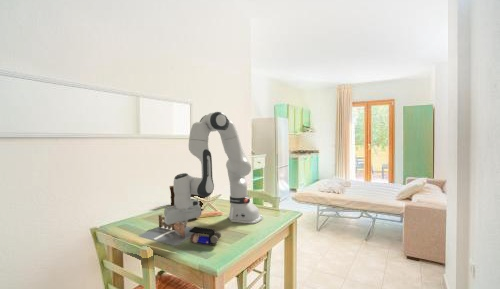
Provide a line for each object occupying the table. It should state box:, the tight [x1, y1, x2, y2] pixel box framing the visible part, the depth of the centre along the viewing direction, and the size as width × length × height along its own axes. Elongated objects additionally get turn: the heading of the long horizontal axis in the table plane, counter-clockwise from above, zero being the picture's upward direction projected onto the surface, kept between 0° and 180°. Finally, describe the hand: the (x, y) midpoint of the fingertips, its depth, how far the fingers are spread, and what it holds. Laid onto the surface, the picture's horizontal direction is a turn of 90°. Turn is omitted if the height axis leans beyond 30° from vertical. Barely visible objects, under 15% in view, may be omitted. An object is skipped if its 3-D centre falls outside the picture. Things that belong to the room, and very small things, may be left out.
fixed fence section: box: [158, 214, 175, 230], centre depth 147 cm, size 12×2×7 cm, turn 62°
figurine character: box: [189, 226, 222, 246], centre depth 127 cm, size 7×8×15 cm
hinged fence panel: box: [174, 222, 185, 237], centre depth 138 cm, size 13×2×6 cm, turn 37°
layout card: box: [138, 225, 194, 247], centre depth 140 cm, size 28×22×1 cm
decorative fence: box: [169, 185, 206, 207], centre depth 189 cm, size 34×6×15 cm, turn 62°
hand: (184, 228), depth 138 cm, fingers closed
